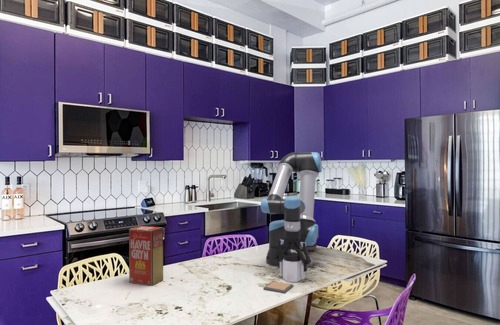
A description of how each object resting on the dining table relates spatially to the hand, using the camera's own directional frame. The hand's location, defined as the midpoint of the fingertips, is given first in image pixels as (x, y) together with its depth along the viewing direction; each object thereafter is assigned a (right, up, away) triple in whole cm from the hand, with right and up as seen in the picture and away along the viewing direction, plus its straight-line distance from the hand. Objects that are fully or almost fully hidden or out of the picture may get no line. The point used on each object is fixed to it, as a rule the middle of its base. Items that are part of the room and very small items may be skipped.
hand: (292, 276), depth 170 cm
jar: (0, -2, 0) cm, 2 cm away
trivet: (-7, -1, -12) cm, 14 cm away
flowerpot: (+16, -2, +58) cm, 60 cm away
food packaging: (-68, -1, -3) cm, 69 cm away
